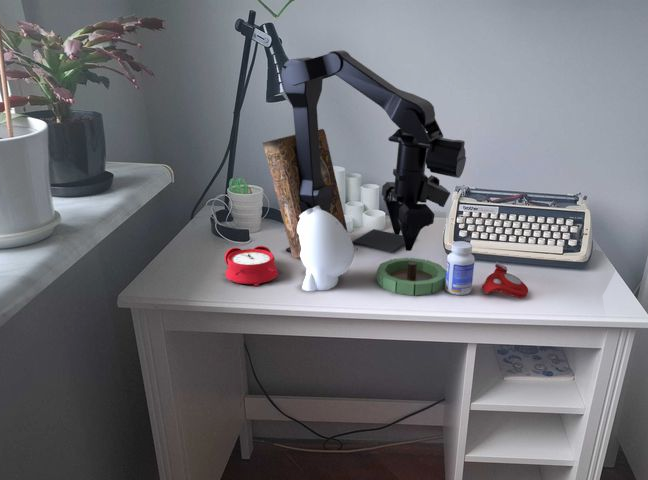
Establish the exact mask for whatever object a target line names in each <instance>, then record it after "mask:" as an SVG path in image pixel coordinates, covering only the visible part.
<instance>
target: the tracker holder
mask: <svg viewBox="0 0 648 480" xmlns="http://www.w3.org/2000/svg"><path fill="white" fill-rule="evenodd" d="M494 267H495V269H494V271H493V272H491V274H489V275H488V276H487V277H486V278H485V280H484V283H483V284H482V285H481V286H480V289H481V290H482V291H483V292H484V293H485V294H486V295H489V294H490V293H491V292H500V293H503V294H506V295H509V296H512V297H515V298H519V299H521V298H522V299H523V298H526V297H527V296H528V293H529V287H528V286H527V285H526V283H524V282H523V281H522V279H520V278H518V277H517V276H515V275H514V274H511V273H508V267H507V266H505V265H503V264H501V263H499V262H498V261H496V262H495V265H494Z"/></svg>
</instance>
